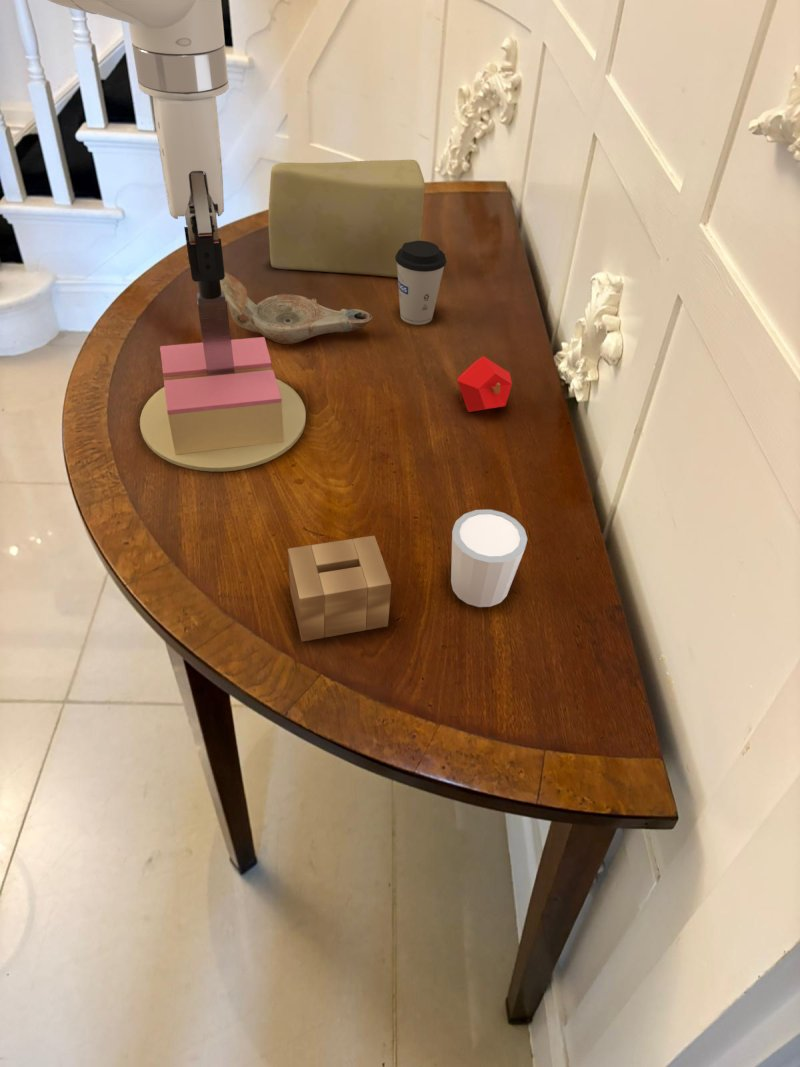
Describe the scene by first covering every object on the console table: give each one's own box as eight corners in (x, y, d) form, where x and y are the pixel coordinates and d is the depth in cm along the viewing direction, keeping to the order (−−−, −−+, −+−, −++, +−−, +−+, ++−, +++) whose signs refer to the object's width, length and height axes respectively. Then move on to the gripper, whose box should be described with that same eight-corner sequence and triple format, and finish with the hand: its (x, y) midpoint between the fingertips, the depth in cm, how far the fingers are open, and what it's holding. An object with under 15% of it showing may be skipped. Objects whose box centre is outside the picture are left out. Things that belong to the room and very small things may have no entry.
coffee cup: (442, 306, 114) (449, 239, 107) (439, 331, 109) (446, 263, 102) (394, 301, 114) (398, 234, 107) (389, 326, 109) (393, 257, 102)
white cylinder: (515, 563, 79) (527, 512, 74) (515, 616, 74) (528, 565, 69) (446, 555, 79) (454, 504, 74) (442, 607, 74) (450, 557, 69)
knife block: (301, 642, 70) (299, 598, 66) (290, 592, 74) (287, 548, 70) (388, 626, 72) (391, 583, 68) (372, 578, 76) (374, 535, 72)
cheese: (270, 282, 116) (264, 178, 105) (271, 252, 123) (265, 151, 112) (419, 282, 119) (427, 181, 108) (411, 253, 125) (418, 154, 115)
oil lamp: (215, 316, 108) (207, 247, 101) (370, 319, 110) (373, 251, 103) (209, 351, 102) (199, 279, 95) (373, 353, 104) (375, 283, 97)
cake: (144, 482, 84) (133, 433, 79) (137, 381, 96) (127, 334, 92) (320, 460, 88) (319, 412, 83) (291, 366, 101) (289, 320, 96)
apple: (449, 348, 96) (476, 361, 89) (499, 352, 98) (528, 365, 91) (441, 403, 99) (465, 420, 92) (489, 406, 101) (517, 423, 94)
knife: (208, 381, 87) (185, 223, 74) (206, 370, 88) (183, 213, 76) (235, 378, 88) (217, 221, 75) (233, 367, 89) (215, 211, 76)
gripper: (132, 41, 71) (164, 239, 84) (139, 99, 60) (174, 315, 73) (216, 41, 73) (235, 235, 86) (238, 97, 62) (255, 309, 75)
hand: (207, 270), depth 79 cm, fingers closed on knife, 2 cm apart
